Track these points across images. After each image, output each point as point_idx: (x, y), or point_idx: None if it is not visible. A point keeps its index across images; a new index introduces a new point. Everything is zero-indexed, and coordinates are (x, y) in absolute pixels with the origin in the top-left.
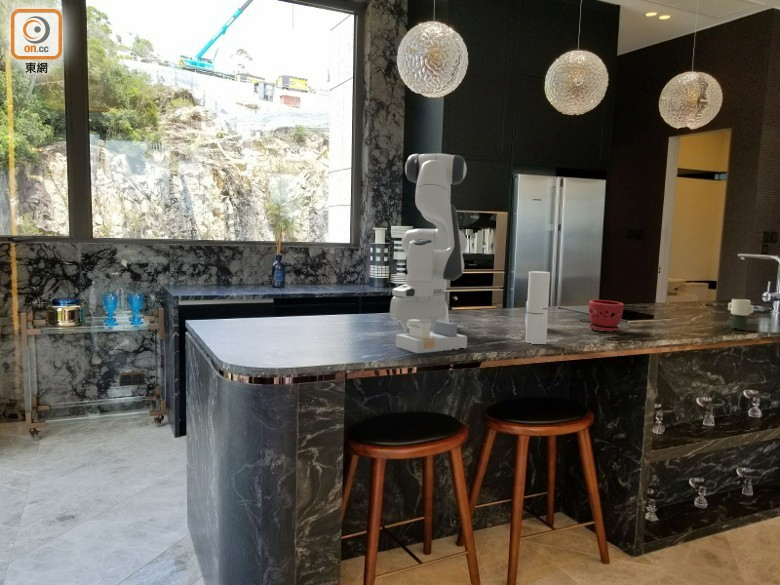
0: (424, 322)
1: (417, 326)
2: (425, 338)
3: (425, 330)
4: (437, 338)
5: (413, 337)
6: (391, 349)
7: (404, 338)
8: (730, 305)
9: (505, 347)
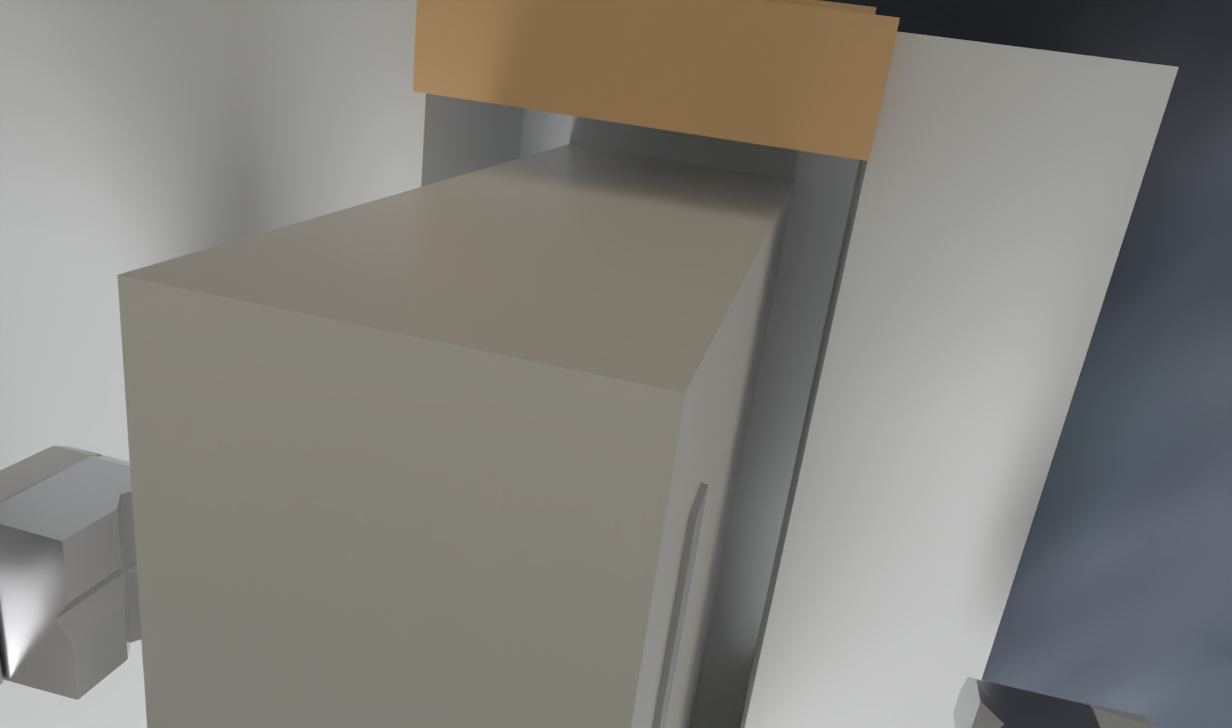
0: (343, 549)
1: (669, 675)
2: (725, 105)
3: (575, 246)
4: (287, 21)
5: (797, 548)
6: (1159, 716)
7: (953, 717)
8: None
9: None
